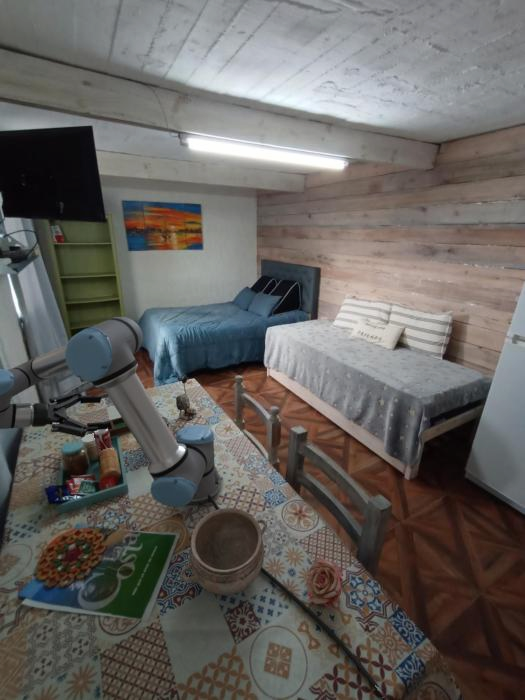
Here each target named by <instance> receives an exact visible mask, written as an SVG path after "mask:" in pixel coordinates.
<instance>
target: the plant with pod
mask: <svg viewBox="0 0 525 700" xmlns="http://www.w3.org/2000/svg"><path fill="white" fill-rule="evenodd" d="M187 382H188V377H187V375H186V374H184V375H183V376H182V377H181V383H182V384H183V388H184V392H183V393H182V394H181V393H180V394H179V395H177V396H175V406H176V409H177V410H178V411H179V418H178V419H179V420H180V419H182V420H186V421H189V420H192V419H193V418H194V417H195V416H196V415H197V413H198V410H197V409H196V408H193V407H191V401H190V398H189V396H188V394H187V391H186V385H185V384H186V383H187Z"/></svg>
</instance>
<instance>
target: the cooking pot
mask: <svg viewBox="0 0 525 700" xmlns="http://www.w3.org/2000/svg"><path fill="white" fill-rule="evenodd" d="M260 524H263V527H262V528H261V526H260ZM267 528H268V523H267V521H266V520H265V519H264V518H263V519H262V518H260V519H256V518H255V517H254V516H253V515H252V514H251V513H249V512H247V511H246V510H244V509H241V508H237V507H222V508H220V509H218V510H216V509H215V510H213V511H211V512H209V513H207V514H206V515H204V516H203V517H202V518H201V519H200V520H199V521H198V523H197V524H196V526H195V527H194V529H193V532H192V534H191V540H190V545H191V546H190V550H189V563H188V564H187V565H186V566H185V567H183V569H182V570H181V572H180V575H179V576H180V580H181V581H182V582H185V583H196V582H197V584H198V585H199V586H200V587H201V588H203V589H204V590H205V591H206V592H209V593H210V594H214V595H217V596H231V595H236V594H238V593H240V592H242V591H244V590H245V589H247V588H248V587H249V586H250V585H252V584H253V583H254V581H256V579H257V577H258V576H259V574H260V572H261V571H260V570H261V568H262V567H263V564H264V560H265V544H264V541H263V535H264V534H265V532H266V530H267ZM188 571H191V574H192V576H190V577H189V576H188V577H187V576H185V573H186V572H188Z"/></svg>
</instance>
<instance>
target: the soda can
mask: <svg viewBox="0 0 525 700" xmlns="http://www.w3.org/2000/svg"><path fill="white" fill-rule="evenodd" d="M94 432H95V433H94V438H95V442H94V443H95V448H96V452H97V455H98V454H99V453H100V452H101V451H102V450H103V449H106V448H112V449H113V444H112V440H111V439H112V437H110V433H109V430H108V428H107V429H101V430H97V431H94ZM94 438H93V439H94Z"/></svg>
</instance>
